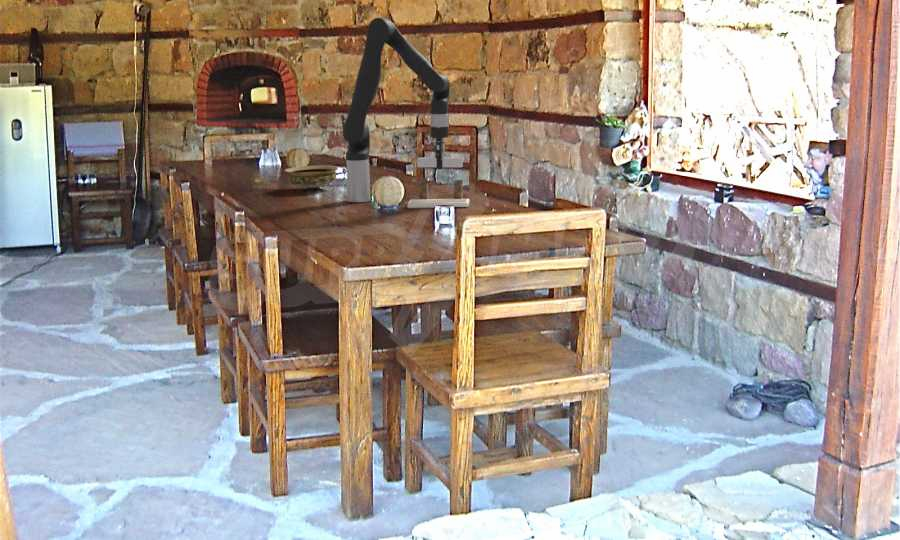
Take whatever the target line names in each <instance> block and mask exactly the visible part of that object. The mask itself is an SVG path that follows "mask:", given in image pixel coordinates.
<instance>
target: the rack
mask: <svg viewBox="0 0 900 540" xmlns="http://www.w3.org/2000/svg"><path fill="white" fill-rule="evenodd" d="M463 181H464V180H463V179H455V180H454V181H453V199H464V187H463V186H464V185H463ZM418 186H419V188H418V190H419V191H418V193H419V199H430V192H429V190H430V189H429V180H420V181H419V182H418Z"/></svg>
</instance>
